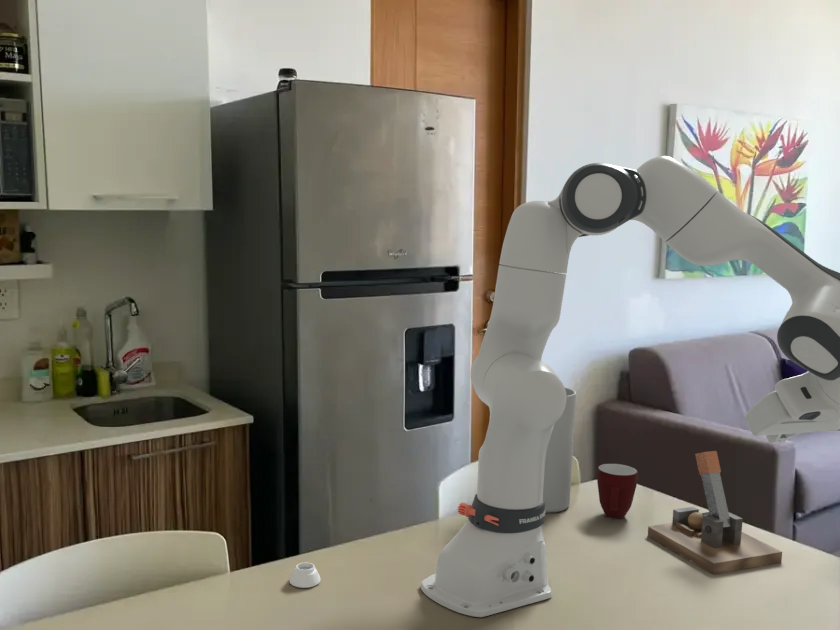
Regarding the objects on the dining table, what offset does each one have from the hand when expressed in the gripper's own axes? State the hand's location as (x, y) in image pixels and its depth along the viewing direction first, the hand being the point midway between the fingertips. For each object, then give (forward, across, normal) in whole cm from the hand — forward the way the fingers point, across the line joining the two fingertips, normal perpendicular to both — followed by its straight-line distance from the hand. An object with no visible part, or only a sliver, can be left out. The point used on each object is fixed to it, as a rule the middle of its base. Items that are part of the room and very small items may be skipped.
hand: (773, 438), depth 139 cm
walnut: (+28, 0, +4) cm, 28 cm away
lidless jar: (+35, +76, +3) cm, 84 cm away
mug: (+40, +8, -4) cm, 41 cm away
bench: (+26, -1, +9) cm, 28 cm away
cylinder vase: (+49, +18, -13) cm, 54 cm away
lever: (+21, 0, +7) cm, 22 cm away
